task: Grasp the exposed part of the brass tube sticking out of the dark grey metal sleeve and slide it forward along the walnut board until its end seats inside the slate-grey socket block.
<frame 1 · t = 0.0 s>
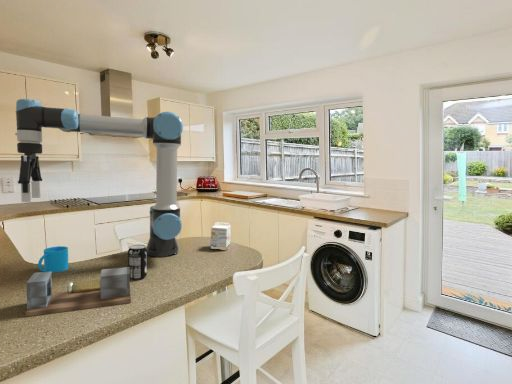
hand: (31, 199, 118), 28 cm above the worktop, fingers open, 13 cm apart
beverage can: (137, 278, 119), on the worktop
rig: (87, 300, 98), on the worktop
mug: (52, 271, 123), on the worktop
tube: (97, 285, 99), point 5 cm above the worktop, slide at 0.0 cm
ink box: (220, 248, 163), on the worktop
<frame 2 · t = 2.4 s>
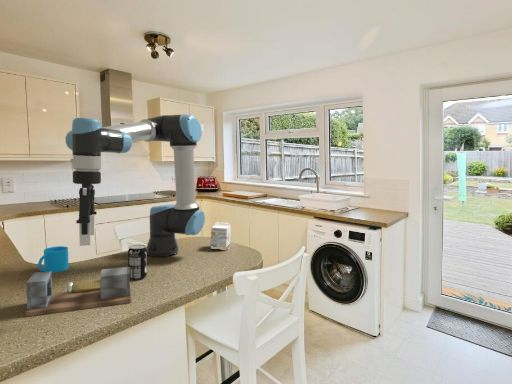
hand: (87, 239, 96), 19 cm above the worktop, fingers open, 13 cm apart
nothing on the worktop moved.
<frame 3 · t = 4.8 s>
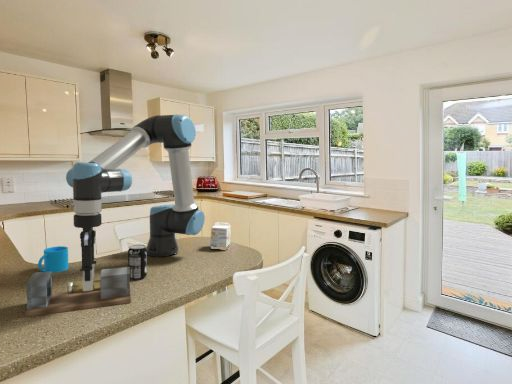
hand: (88, 287, 98), 4 cm above the worktop, fingers closed on tube, 4 cm apart
tube: (97, 285, 99), point 5 cm above the worktop, slide at 0.0 cm, touching gripper
everything else where it was.
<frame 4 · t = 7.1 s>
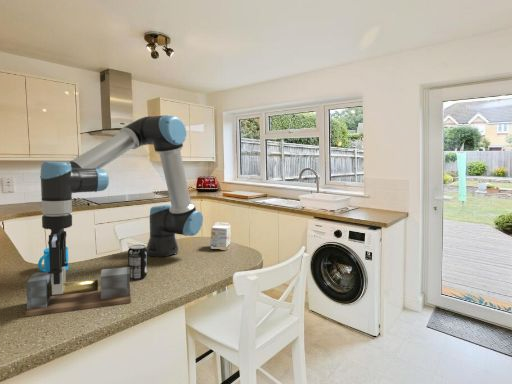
hand: (59, 290, 95), 4 cm above the worktop, fingers closed on tube, 4 cm apart
tube: (68, 288, 96), point 5 cm above the worktop, slide at 7.9 cm, touching gripper
everything else where it was.
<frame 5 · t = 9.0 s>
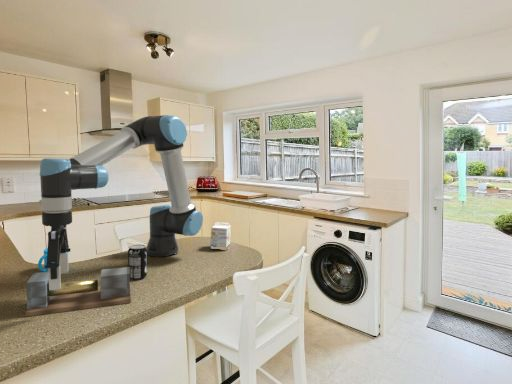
hand: (59, 280, 95), 7 cm above the worktop, fingers open, 13 cm apart
tube: (68, 288, 96), point 5 cm above the worktop, slide at 8.0 cm
everything else where it was.
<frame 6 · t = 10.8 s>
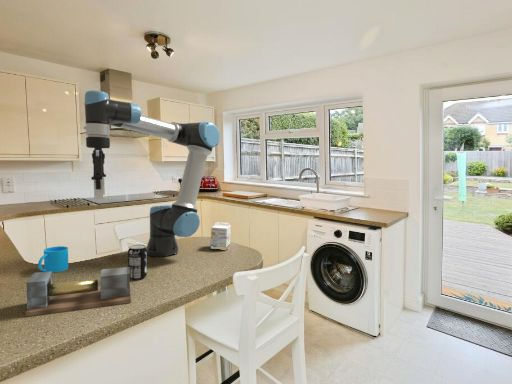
hand: (99, 196, 113), 31 cm above the worktop, fingers open, 13 cm apart
nothing on the worktop moved.
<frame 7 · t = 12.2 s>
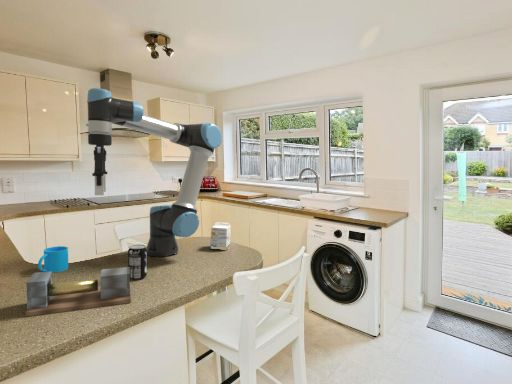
hand: (100, 193, 114), 32 cm above the worktop, fingers open, 13 cm apart
nothing on the worktop moved.
at the end: tube slide at 8.0 cm; the gripper is holding nothing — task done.
